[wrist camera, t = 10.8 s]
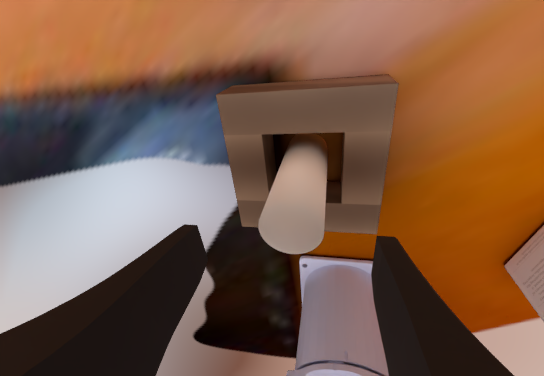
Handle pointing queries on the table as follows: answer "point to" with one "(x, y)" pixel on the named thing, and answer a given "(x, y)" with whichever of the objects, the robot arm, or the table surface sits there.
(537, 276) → the skincare box
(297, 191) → the peg
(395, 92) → the brown square frame
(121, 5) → the table surface
